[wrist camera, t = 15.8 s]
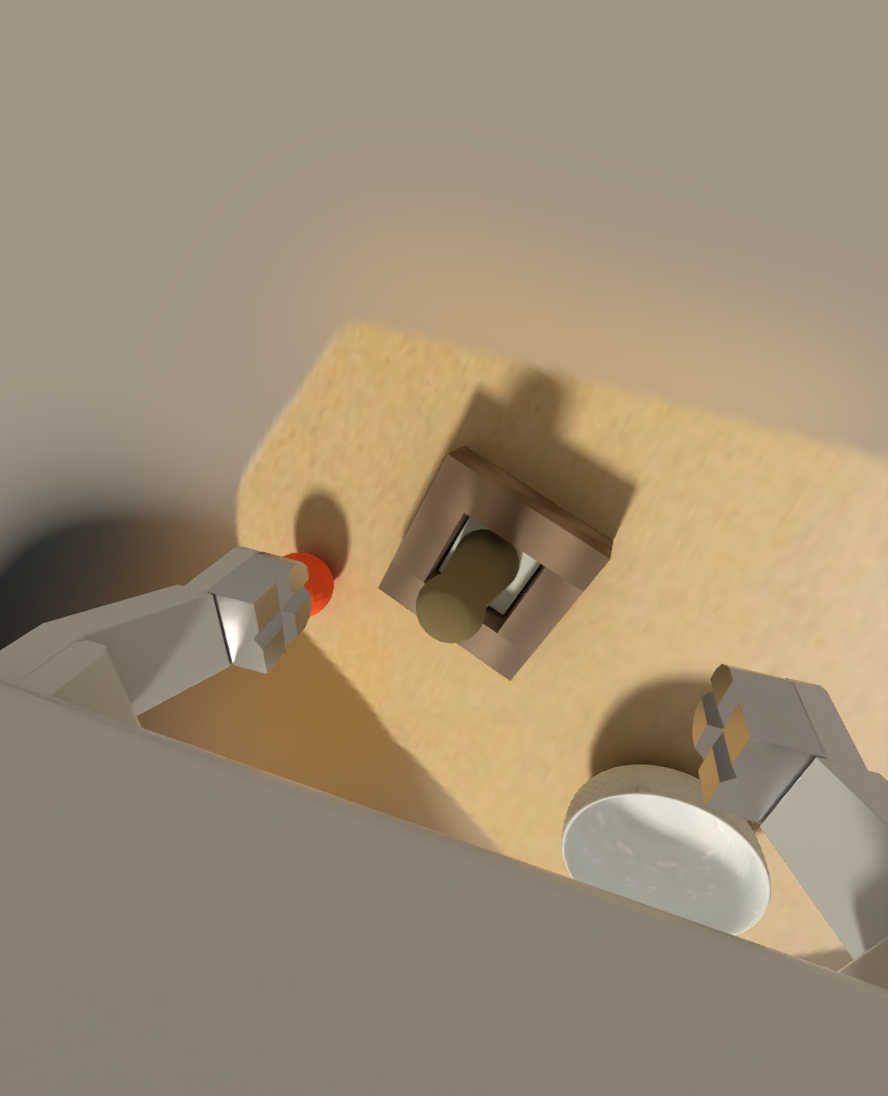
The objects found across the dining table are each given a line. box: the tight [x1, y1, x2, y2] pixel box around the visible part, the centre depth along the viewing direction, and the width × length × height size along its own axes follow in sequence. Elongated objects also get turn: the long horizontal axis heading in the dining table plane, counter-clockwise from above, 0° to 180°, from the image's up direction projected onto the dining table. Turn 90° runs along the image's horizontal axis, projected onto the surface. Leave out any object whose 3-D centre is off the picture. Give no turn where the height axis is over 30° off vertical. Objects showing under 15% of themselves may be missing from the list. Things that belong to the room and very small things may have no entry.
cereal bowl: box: [562, 764, 771, 936], centre depth 44 cm, size 17×17×7 cm
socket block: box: [378, 446, 613, 680], centre depth 42 cm, size 15×15×4 cm
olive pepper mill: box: [416, 529, 519, 643], centre depth 38 cm, size 6×6×11 cm
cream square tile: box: [438, 517, 540, 615], centre depth 43 cm, size 7×7×1 cm
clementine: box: [283, 552, 334, 616], centre depth 49 cm, size 8×7×7 cm
